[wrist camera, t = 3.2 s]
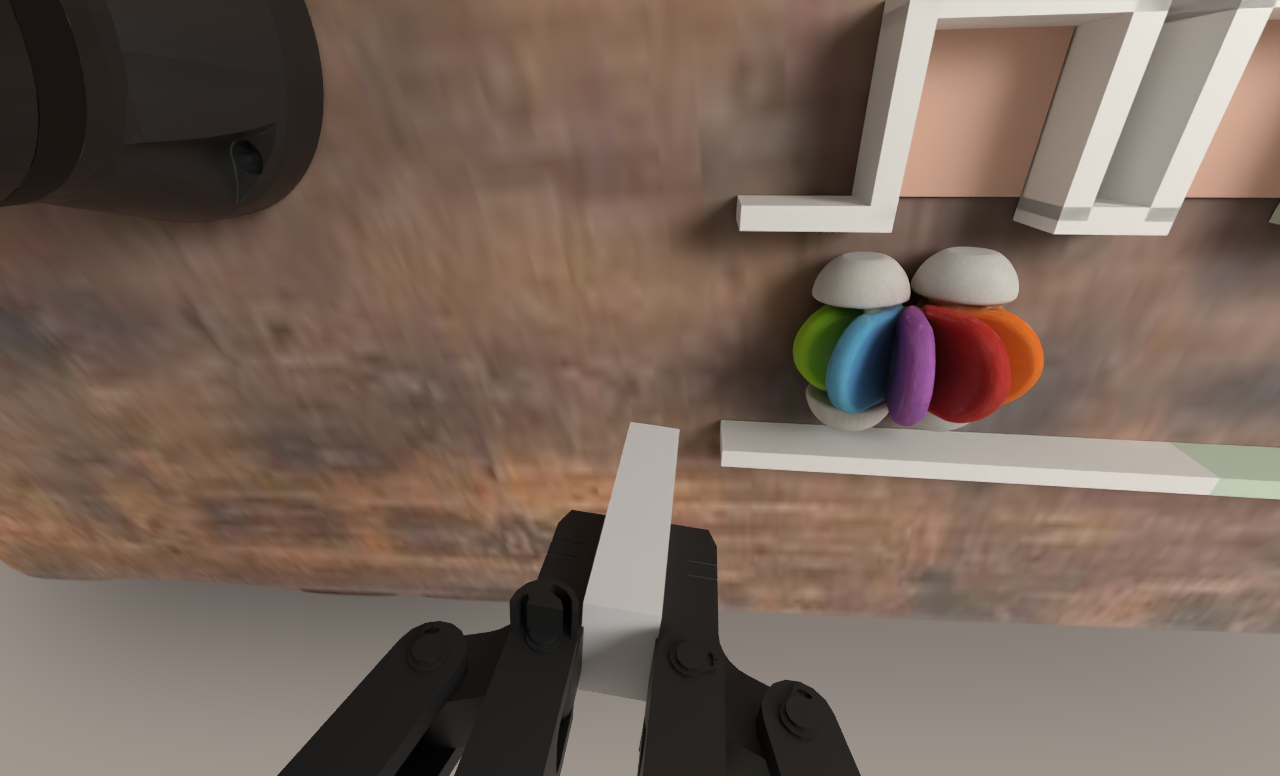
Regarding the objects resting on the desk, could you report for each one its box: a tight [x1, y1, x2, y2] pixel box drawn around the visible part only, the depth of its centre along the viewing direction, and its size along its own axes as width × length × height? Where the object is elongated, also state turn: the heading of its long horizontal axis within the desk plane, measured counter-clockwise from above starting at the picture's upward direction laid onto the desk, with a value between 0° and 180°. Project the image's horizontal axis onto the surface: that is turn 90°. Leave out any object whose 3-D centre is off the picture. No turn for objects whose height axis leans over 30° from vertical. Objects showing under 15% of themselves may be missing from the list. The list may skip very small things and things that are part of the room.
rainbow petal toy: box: [793, 247, 1044, 432], centre depth 22 cm, size 8×10×7 cm
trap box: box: [720, 0, 1280, 499], centre depth 21 cm, size 32×20×3 cm, turn 91°
